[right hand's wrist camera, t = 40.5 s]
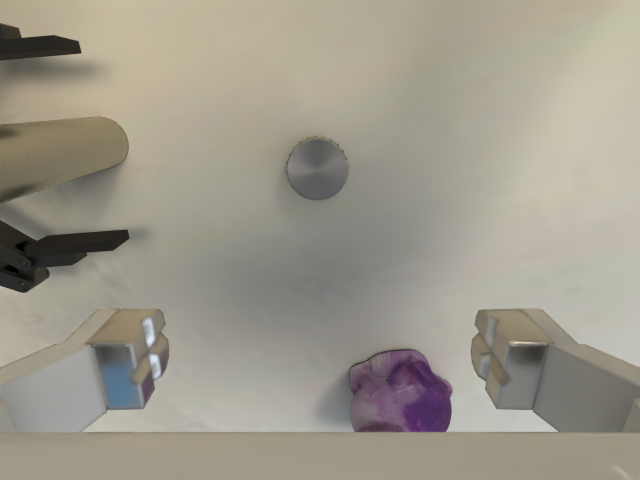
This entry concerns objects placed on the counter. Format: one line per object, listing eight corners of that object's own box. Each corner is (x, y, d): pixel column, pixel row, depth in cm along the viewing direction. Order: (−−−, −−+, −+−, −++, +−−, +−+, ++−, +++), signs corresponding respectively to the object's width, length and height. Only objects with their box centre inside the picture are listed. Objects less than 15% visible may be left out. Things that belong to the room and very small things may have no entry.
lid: (350, 138, 34) (351, 140, 33) (344, 198, 36) (345, 202, 34) (288, 134, 34) (287, 135, 32) (286, 194, 36) (284, 198, 34)
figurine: (325, 385, 43) (330, 526, 29) (393, 326, 41) (434, 448, 26) (385, 430, 45) (416, 581, 31) (452, 377, 43) (519, 514, 29)
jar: (76, 158, 35) (-125, 208, 19) (81, 110, 33) (-132, 120, 17) (125, 172, 35) (-32, 233, 19) (132, 125, 34) (-31, 149, 18)
